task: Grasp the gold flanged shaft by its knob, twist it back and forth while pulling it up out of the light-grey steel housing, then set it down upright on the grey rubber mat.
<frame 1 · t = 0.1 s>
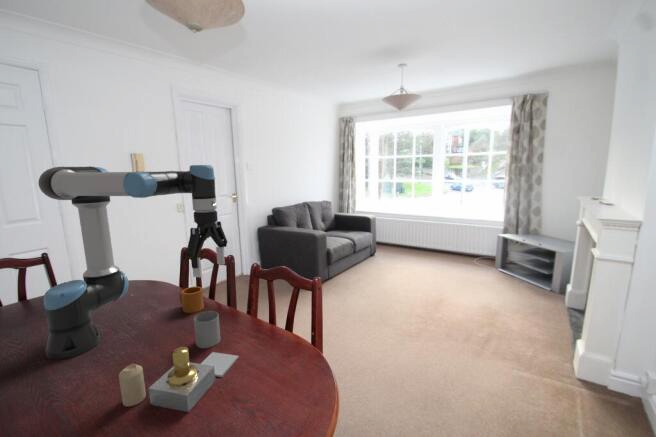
hand: (210, 270, 106), 28 cm above the table, fingers open, 13 cm apart
mat: (217, 364, 99), on the table
cup: (208, 342, 112), on the table
candle: (134, 399, 84), on the table
mug: (191, 308, 140), on the table
housing: (184, 392, 86), on the table
gold flanged shaft: (182, 371, 85), in the housing
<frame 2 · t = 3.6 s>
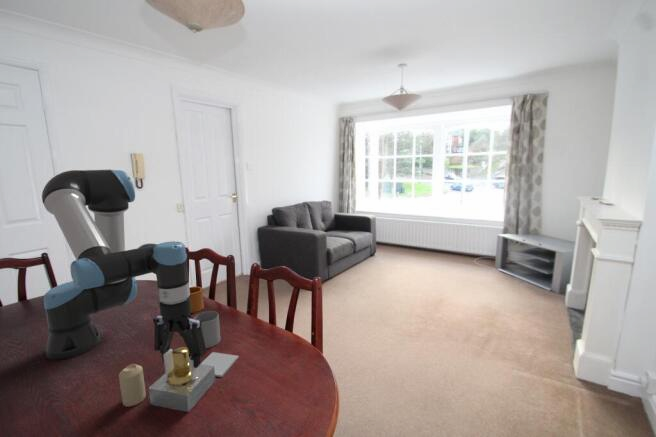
hand: (182, 374, 86), 6 cm above the table, fingers closed on gold flanged shaft, 8 cm apart
gold flanged shaft: (182, 371, 85), in the housing, touching gripper
everything else where it was.
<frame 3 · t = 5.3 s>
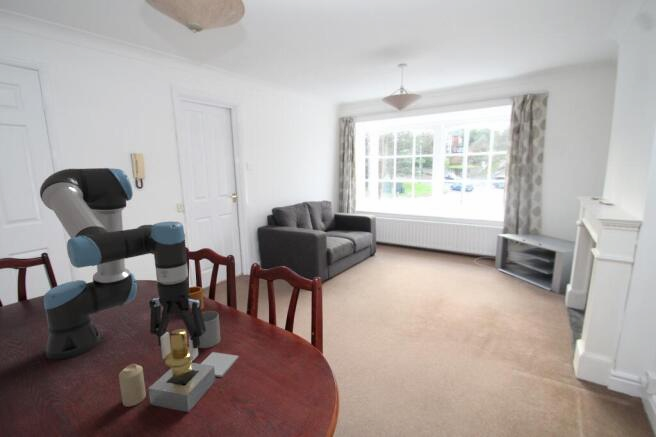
hand: (180, 356, 85), 11 cm above the table, fingers closed on gold flanged shaft, 8 cm apart
gold flanged shaft: (180, 353, 85), point 12 cm above the table, touching gripper
everything else where it was.
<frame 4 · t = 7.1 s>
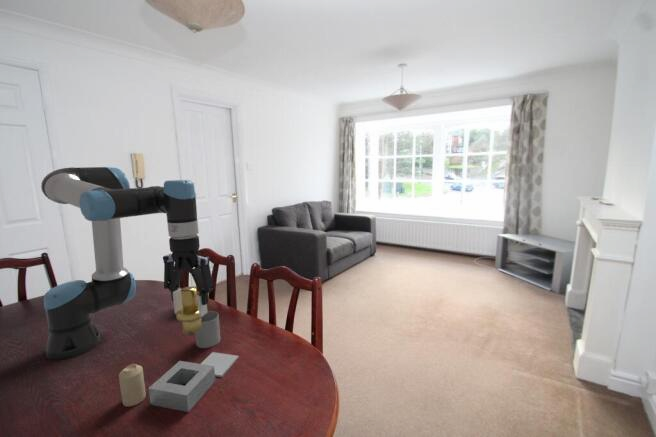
hand: (191, 312, 87), 22 cm above the table, fingers closed on gold flanged shaft, 8 cm apart
gold flanged shaft: (190, 309, 87), point 23 cm above the table, touching gripper
everything else where it was.
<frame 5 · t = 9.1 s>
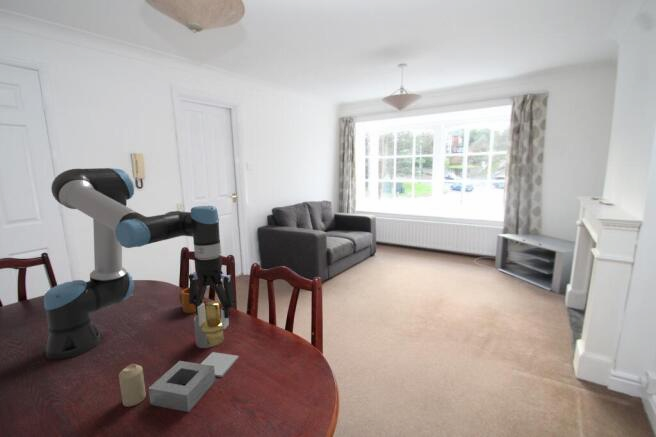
hand: (214, 325, 96), 14 cm above the table, fingers closed on gold flanged shaft, 8 cm apart
gold flanged shaft: (213, 322, 96), point 15 cm above the table, touching gripper
everything else where it was.
when the fingers open (8 cm above the table, at t = 10.7 s): gold flanged shaft drops 2 cm, resting on mat.
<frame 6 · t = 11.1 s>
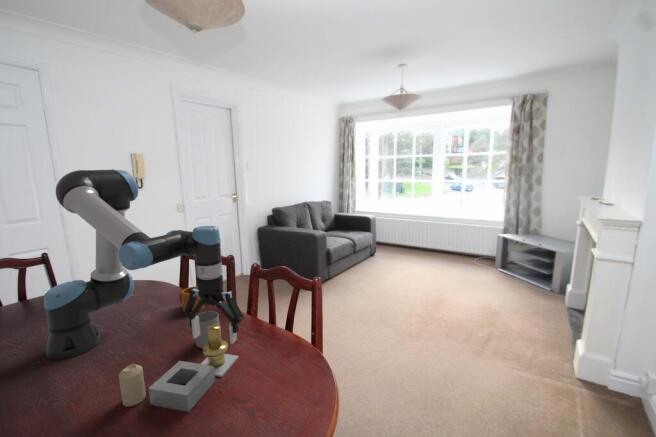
hand: (214, 339, 97), 9 cm above the table, fingers open, 13 cm apart
gold flanged shaft: (215, 345, 97), on the mat, point 7 cm above the table
everything else where it was.
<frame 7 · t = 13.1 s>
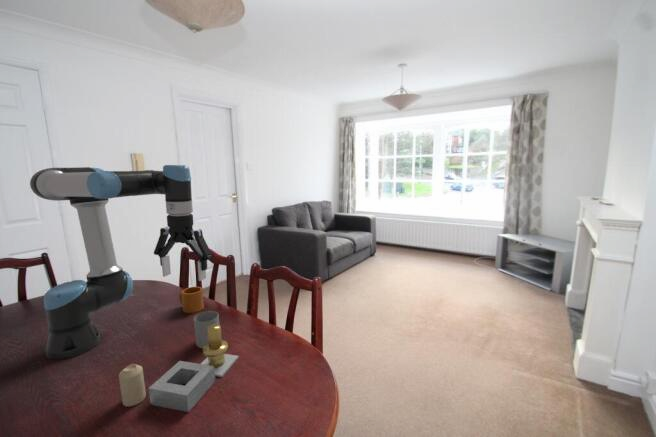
hand: (184, 277, 100), 28 cm above the table, fingers open, 13 cm apart
nothing on the table moved.
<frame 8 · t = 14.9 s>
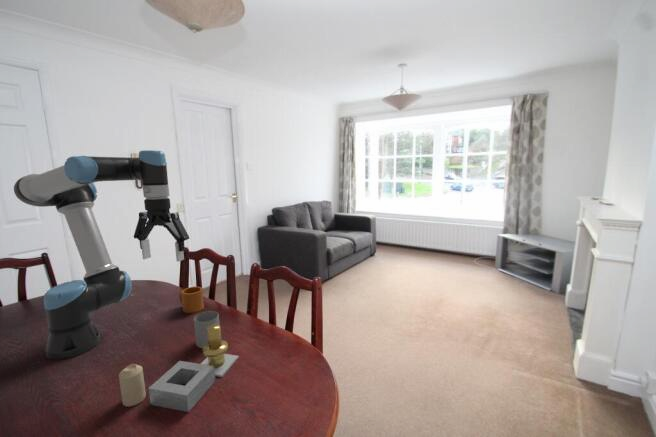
hand: (163, 259, 104), 33 cm above the table, fingers open, 13 cm apart
nothing on the table moved.
at the end: gold flanged shaft inside the target area on the mat (0.0 cm from its centre), point 7.0 cm above the mat's base; gold flanged shaft tilted 0°; gold flanged shaft touching mat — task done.
